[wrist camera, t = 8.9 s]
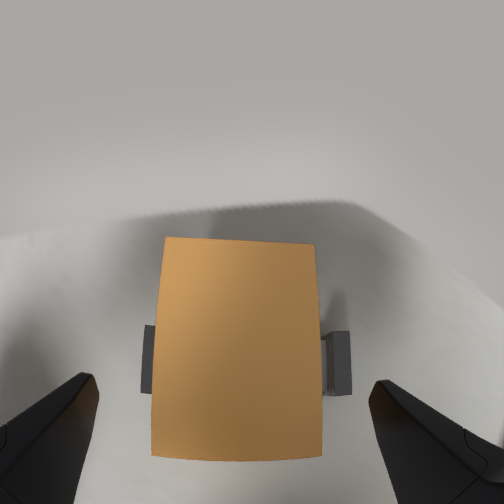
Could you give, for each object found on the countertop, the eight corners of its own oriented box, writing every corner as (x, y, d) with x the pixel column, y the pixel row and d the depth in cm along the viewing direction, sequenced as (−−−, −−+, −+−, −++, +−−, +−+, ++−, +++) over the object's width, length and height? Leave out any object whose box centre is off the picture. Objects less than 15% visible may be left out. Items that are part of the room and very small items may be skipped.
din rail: (335, 394, 16) (351, 394, 14) (150, 391, 15) (140, 392, 13) (334, 338, 18) (349, 331, 16) (153, 332, 17) (144, 325, 15)
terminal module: (271, 423, 15) (321, 456, 7) (184, 421, 15) (151, 455, 7) (270, 309, 18) (314, 244, 10) (188, 306, 18) (165, 236, 10)
